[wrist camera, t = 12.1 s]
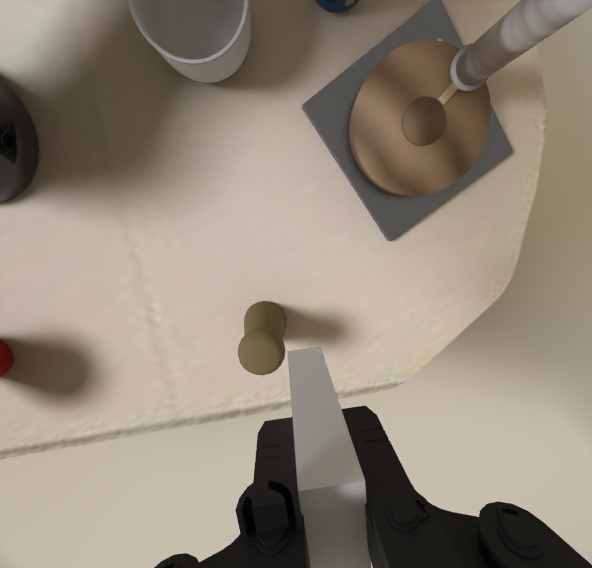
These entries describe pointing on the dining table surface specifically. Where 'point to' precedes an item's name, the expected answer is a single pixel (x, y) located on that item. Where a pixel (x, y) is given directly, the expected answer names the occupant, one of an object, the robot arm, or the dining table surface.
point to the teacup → (197, 34)
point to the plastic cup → (5, 358)
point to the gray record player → (336, 115)
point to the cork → (263, 338)
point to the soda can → (336, 4)
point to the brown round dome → (441, 101)
